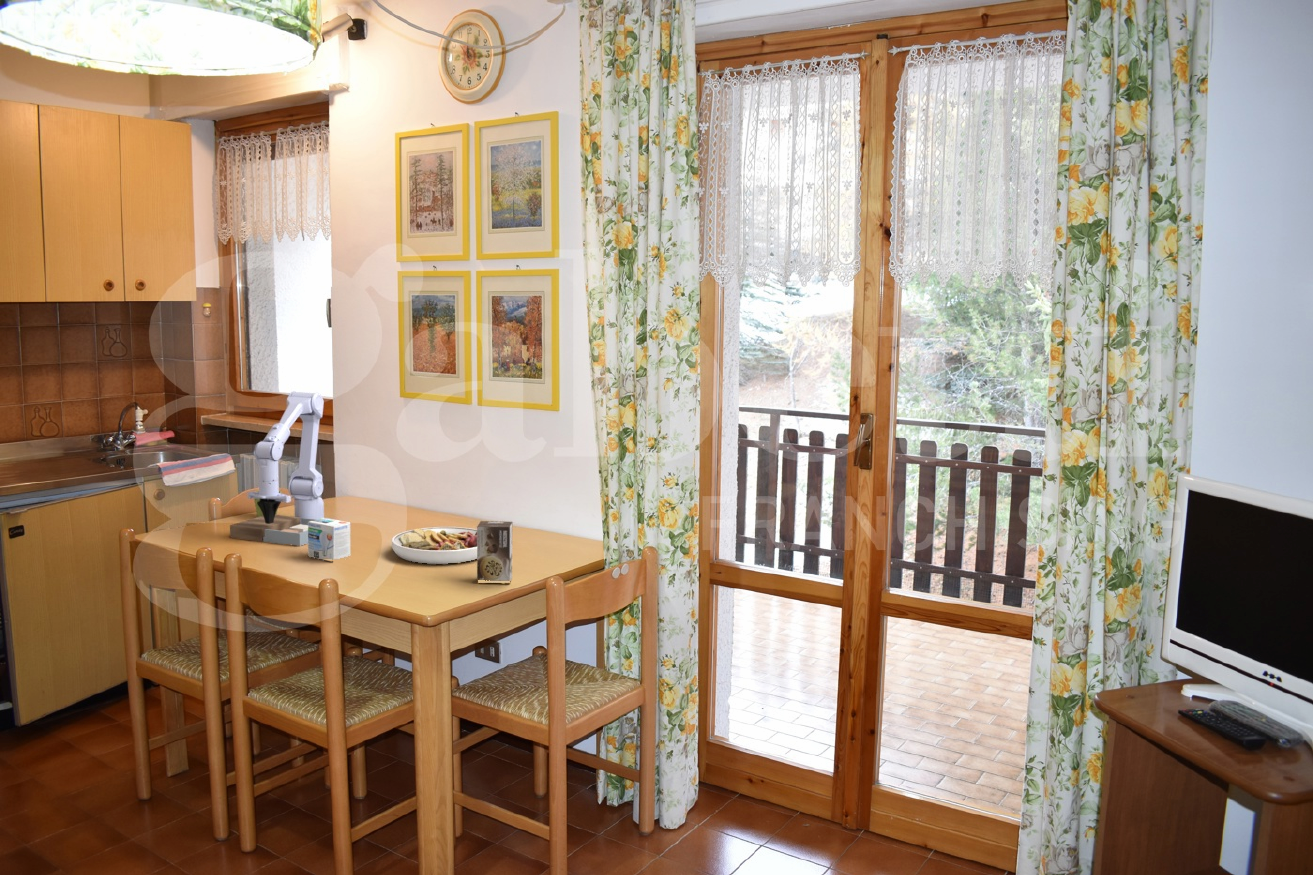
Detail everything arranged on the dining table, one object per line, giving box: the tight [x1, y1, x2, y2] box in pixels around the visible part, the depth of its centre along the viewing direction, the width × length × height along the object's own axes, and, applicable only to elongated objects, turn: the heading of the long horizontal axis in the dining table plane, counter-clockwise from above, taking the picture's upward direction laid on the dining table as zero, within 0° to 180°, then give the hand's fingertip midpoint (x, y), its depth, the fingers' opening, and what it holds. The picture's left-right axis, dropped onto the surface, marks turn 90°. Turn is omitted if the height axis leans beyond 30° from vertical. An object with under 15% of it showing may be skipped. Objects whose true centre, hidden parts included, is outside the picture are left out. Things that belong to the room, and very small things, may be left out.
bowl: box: [391, 526, 477, 565], centre depth 284 cm, size 30×30×8 cm
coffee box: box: [476, 520, 514, 581], centre depth 257 cm, size 9×6×16 cm
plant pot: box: [253, 490, 282, 518], centre depth 322 cm, size 9×9×9 cm
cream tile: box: [290, 524, 308, 533], centre depth 299 cm, size 5×5×2 cm
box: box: [263, 518, 318, 547], centre depth 296 cm, size 18×13×4 cm
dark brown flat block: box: [229, 514, 300, 543], centre depth 300 cm, size 18×12×4 cm, turn 163°
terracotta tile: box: [281, 529, 299, 533], centre depth 292 cm, size 5×5×2 cm
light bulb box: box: [307, 517, 351, 560], centre depth 275 cm, size 11×7×11 cm, turn 62°
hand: (269, 523), depth 293 cm, fingers closed
